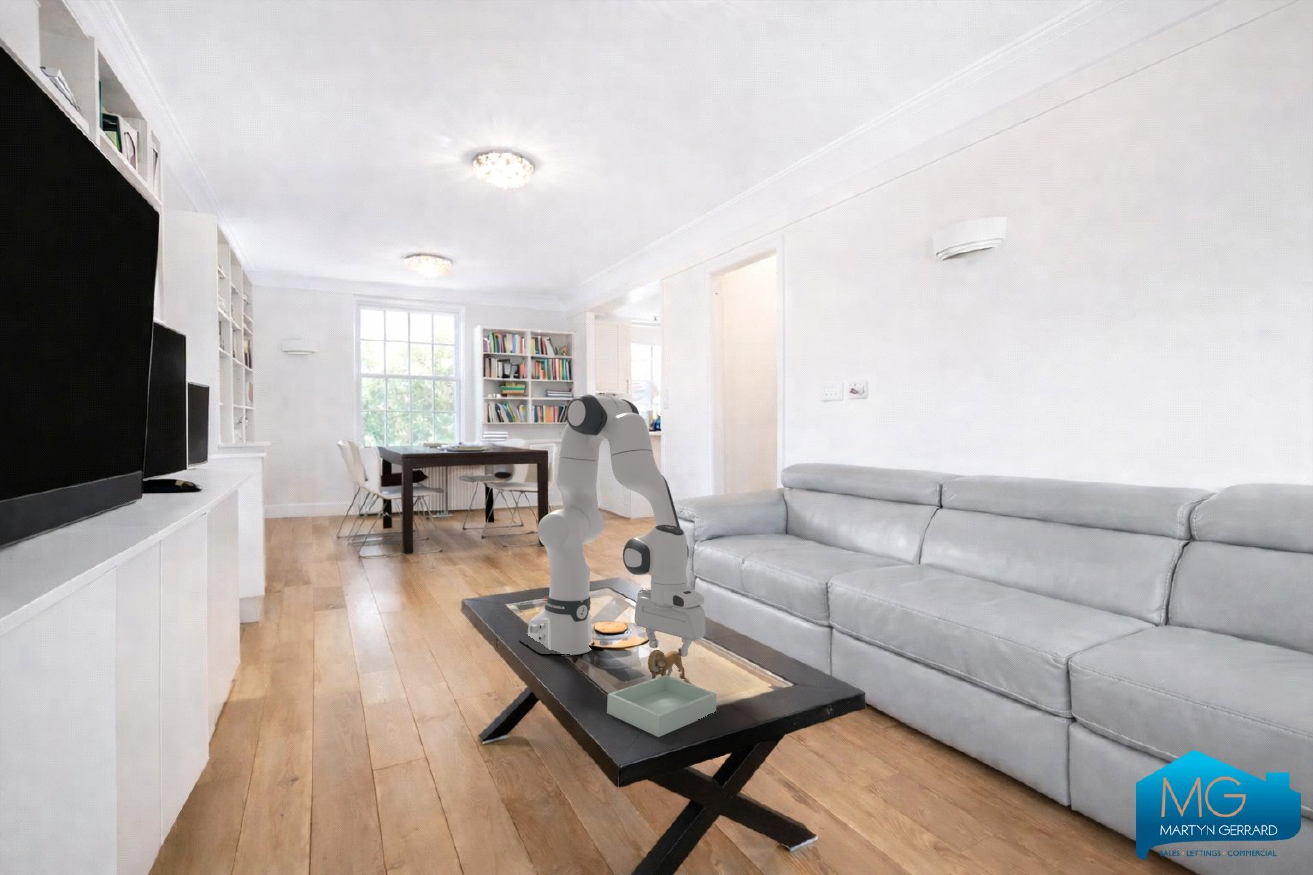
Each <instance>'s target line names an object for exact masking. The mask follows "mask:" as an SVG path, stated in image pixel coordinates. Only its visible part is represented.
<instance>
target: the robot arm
mask: <svg viewBox="0 0 1313 875" xmlns="http://www.w3.org/2000/svg"><path fill="white" fill-rule="evenodd" d="M566 421H567V424H566V425H565V428H564V430H563V434H562V438H561V442H560V448H559V454H558V456H559V457H558V463H557V464H558V466H557V474H556V475H557V476H556V477H557V478H556V486H557V488H558V490H559V491H560V494H561V499H562V508H561V509H556V510H553V511H550V512H549V513H548V514H546V515H544V516H543V517H542V518H541V519H540V521H539V523H538V525H537V536H538V539H539V541H540V542H541V544H542V546H544V548H545V551H546V554H547V555H546V556H547V558H548V565H549V595H548V596H544V597H543V599H544V600H543V602H545V604H544V608H543V609H542V610H541V611H540V612H539V613H537V614H536V615H535V616H533V617H532V618H531V619H530V620H529V623H528V628H527V634H528V636H530V637H531V638H533V639H534V640H535V641H537V642H540V643H541V644H543V645H544V646H545V647H546V648H548V649H549V650H554V651H557V652H560V653H563V654H570V655H569V656H575V655H581V654H582V655H583V654H585V653H588V652H591V651H592V650H593V649H591V648H590V647H589V643H590V642H591V639H592V638H593V633H592V632H593V630H592V616H591V613H590V610H591V604H592V601H591V597H590V586H591V585H590V584H591V583H590V582H591V568H590V567H589V565H588V563H587V562H586V559H585V554H584V545H587V544H591V543H592V542H594V541H595V540H597V538H598V537H600V535H601V534H602V532H603V530H604V525H605V522H604V519H603V518H604V517H603V516H602V514H601V512H600V509H599V502H598V495H597V494H598V493H597V482H598V470H599V460H600V447H601V445H602V442H603V441H604V440H605V439H607V441H608V444H609V453H610V454H609V455H610V462H611V463H610V464H611V468H612V472H613V475H614V478H615V480H616V481H617V482H618V483H619V484H620V485H621V486H623V487H624V488H626V489H628V490H630V491H632V492H635V493H636V494H639V495H640V496H642V497H643V498H645V499H646V501H648V502H649V505H650V506H651V507H652V511H653V514H654V515H653V516H654V520H655V523H656V526H654V527H653V528H652V530H650V531H649V532H647V533H645V534H643V535H642V534H641V535H639V536H636V537H635V536H634V537H633V538H630V539H628V540H627V542H626V543H625V545H624V547H623V552H622V560H623V561H622V562H623V565H624V566H625V568H626V569H627V571H628V572H629V573H630V574H632V575H635V576H647V575H649V576H650V589H648V588H642V589H640V590H639V591H638V592H637V595H636V596H637V600H636V604H635V610H634V623H635V626H637V627H639V628H640V627H641V628H644V629H645V633H646V637H647V639H648V640H649V641H648V642H649V645H648V646H649V647H650V648H652V649H657V648H659V642H660V641H659V639H657V637H656V634H655V632H659V633H663V634H667V635H670V636H674V637H677V638H681V643H682V646H681V647H679V648H678V650H677V652H679V653H678V655H679V656H681V658H682V657H683V658H685V657H688V654H689V651H688V650H689V648H690V646H691V644H692V643H693V642H695V641H699V640H702V639H703V638H704V637H705V635H706V627H707V626H706V613H705V609H704V608H703V605H704V604H705V597H704V595H702V594H701V593H700V592H697V590H695V589H693V588H692V587H691V586H689V585H688V577H687V574H686V573H687V566H688V561H689V556H690V555H689V554H690V549H689V545H688V541H687V536H686V532H685V531H684V530H683V529H682V528H681V526H680V522H679V518H678V514H677V510H676V508H675V503H674V500H673V497H672V493H671V490H670V487H669V484H668V481H667V480H666V478H665V476H664V475H662V473H661V472H660V469H659V468H658V465H657V464H656V460H655V457H654V451H653V446H652V440H651V439H652V438H651V436H650V432H649V429H648V426H647V422H646V420H645V418H644V417H643V416H642V415H640V412H639V409H638V408H637V406H636V405H635V404H634V403H633V402H631V401H629V400H626V399H623V398H618V397H614V396H609V395H592V394H589V393H586V394H580V395H577V396H575V397H573V398H571V400H570V402H569V403H568V405H567V409H566Z"/></svg>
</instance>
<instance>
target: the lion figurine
mask: <svg viewBox="0 0 1313 875" xmlns="http://www.w3.org/2000/svg"><path fill="white" fill-rule="evenodd" d="M678 653H679V652H678V650H672V651H669V652H667V653H665V652H664V651H662V650H660V649H654V650H652V651H650V653H649V655H648V659H647V669H648V670H649V672H650V673H651V679H654V678H657V676H659V675H660V676H663V675H667V676H670V677H671V674H672V672H673V666H674V665H675V666H676V667H677V672H678V673H681V674H679V678H681V679H684V678H685V676H686V674H685V668H684V666H683V662H682V656H679V655H678ZM667 671H668V672H667Z"/></svg>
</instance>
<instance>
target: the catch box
mask: <svg viewBox="0 0 1313 875" xmlns="http://www.w3.org/2000/svg"><path fill="white" fill-rule="evenodd" d="M717 696H718V694H717V692H713V691H710V690H709V689H708V690H707V689H705V688H702V687H700V686H696V685H694V684H692V683H688V682H686V681H684V680H680V679H678V678H676V677H673V676H671V675H670V676H667V675H663V676H661V675H660V676H658V677H657V676H656V678H654V679H652V678H651V679H649V680H645V681H643V682H640V683H637V684H634V685H630V686H628V687H625V688H621V689H619V690H615V691H613V692H610V693H607V701H606V702H607V703H606V704H607V706H606V714H608V715H610V716H612V717H614V718H616V719H618V720H620V721H623V722H624V723H627V724H630V725H631V726H634V727H636V728H638V729H640V730H642V731H645V732H646V733H649V734H651V735H652V736H655V737H657V738H660V737H663V736H666V734H667V735H668V734H669V733H672V732H673V731H676V730H678V729H681V728H683V727H685V726H687V725H690V724H693V723H695V722H697V721H699V720H698V719H700V720H702V719H703V717H704V718H706V717H708V716H707V715H708V714H710V713H713V714H715V713H714V712H715V711H716V712H717V699H718V698H717ZM705 716H706V717H705ZM701 718H702V719H701Z"/></svg>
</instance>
